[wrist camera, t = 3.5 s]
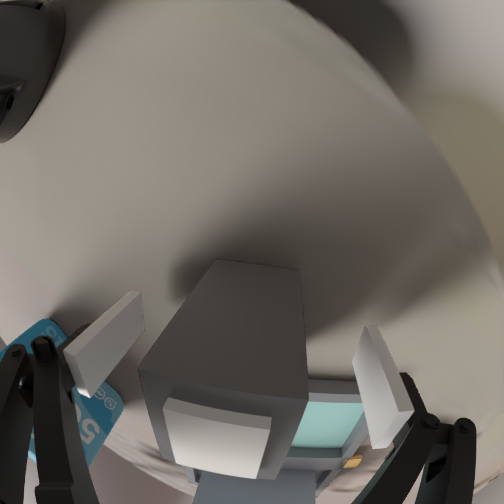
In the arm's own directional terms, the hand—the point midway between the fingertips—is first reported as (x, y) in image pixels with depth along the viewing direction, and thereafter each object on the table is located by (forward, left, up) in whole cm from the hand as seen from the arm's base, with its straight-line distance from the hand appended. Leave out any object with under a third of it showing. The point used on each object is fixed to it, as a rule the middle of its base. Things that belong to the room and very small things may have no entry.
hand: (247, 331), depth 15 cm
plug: (0, 0, -3) cm, 3 cm away
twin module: (+23, +3, -2) cm, 23 cm away
